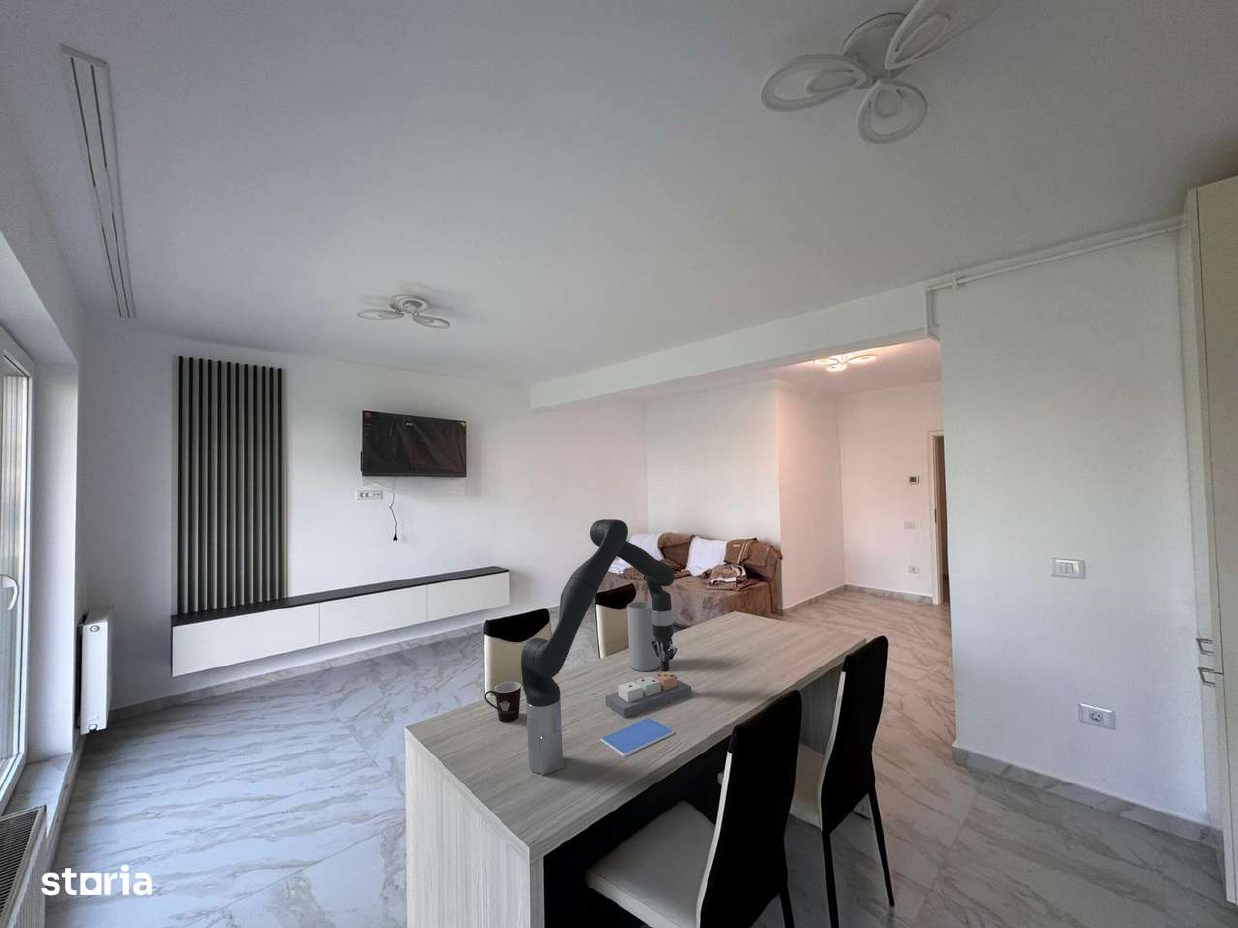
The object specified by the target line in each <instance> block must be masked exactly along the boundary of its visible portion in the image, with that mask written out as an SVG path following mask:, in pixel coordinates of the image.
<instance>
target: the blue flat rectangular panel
mask: <svg viewBox="0 0 1238 928" xmlns="http://www.w3.org/2000/svg"><path fill="white" fill-rule="evenodd" d="M674 734H675V731H674V730H673V729H671V728H670V727H668V726H666V725H663V724H662V723H660V722H658V721H657V720H654V719H653V718H651V717H645V718H644V719H642V720H639V721H637V722H635V723H633V724H630V725H627V726H626V727H623V728H621V729H619V730H616V731H614V732H611V733H608V734H606V735H604V736H602V737H600V739H599V741H600V742H602V743H603V745H604V744H605V745H606V746H608V748H610V749H612V750H613V751H614V752H616V753H617V754H618V755H620V756H621V757H623V758H625V757H626V758H627V757H629V756H631V755H633V754H635V753H637V752H639V751H640V750H643V749H645V748H646V747H649V746H651V745H654V744H655V743H657V742H659V741H662V740H663V739H666V738H668V737H670V736H673V735H674Z"/></svg>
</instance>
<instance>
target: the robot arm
mask: <svg viewBox="0 0 1238 928" xmlns="http://www.w3.org/2000/svg"><path fill="white" fill-rule="evenodd" d="M628 534H629V527H628V525H627V523H626V522H625V521H623V520H621V519H617V518H616V519H614V518H613V519H608V518H607V519H606V518H605V519H598V520H596V521H595V522H593V523H592V524H591V526H590V529H589V537H590V539H591V542H592V543H593V544H594V546H597V547H598V548H597V550H596V551H595V553H593V555H592V556H590V558H588V559H587V560H586V561H585V562H584V563H582V564H581V565H580V566H579V567H577V569H576V570H574V571H573V573H572V574H571V575H570V577H569V579H568V581H567V582H566V584H565V586H564V587H563V590H562V591H561V594H560V598H559V599H560V600H559V601H560V602H559V603H560V604H559V618H558V622H557V624H556V626H555V628H554V631H553V632H552V634H551V636H550V637H549V639H545V638H543V637H542V638H541V637H533V638H531V639H529V640H528V641H527V642H526V643H525V644H524V646H523V648H522V651H521V656H520V657H521V658H520V667H521V668H520V669H521V680H522V689H523V693H524V694H525V699H526V722H527V723H526V724H527V725H526V727H527V750H528V768H529V770H530V771H532V772H534V773H536V774H540V775H541V776H544V775H547V774H550V773H552V772H555V771H558V770H560V769H563V768H564V753H563V752H564V749H563V730H562V729H563V727H562V703H561V702H562V701H561V688H560V686H559V685H558V683H557V682H556V681H555V680H554V677H555V676H557V675H558V674H559V673H560V671H561V670H562V669H563V666H564V665H565V663H566V660H567V659H568V658H567V657H568V655H569V653H570V650H571V648H572V645H573V642H574V640H575V637H576V635H577V632H578V631H579V629H580V627H581V624H582V622H583V620H584V617H585V616H586V614H587V612H588V610H589V608H590V607H591V604H592V603H593V601H594V599H595V597H596V595H597V593H598V591H599V589H600V587H601V585H602V582H603V581H604V579H605V577H606V575H607V573H608V571H609V569H610V568H611V566H612V564H613V563H614V562H615V560H616V558H617V557H618V558H619V559H621V560H622V561H624V562H625V563H627V564H628V565H630V566H631V567H632V568H634V569H635V570H637V572H638V573H639V574H641V575H643V576H645V581H646V584H647V585H646V586H647V588H648V592H649V595H650V597H651V602H652V628H653V636H655V640H654V641H651V644H652V646H653V648H654V651H655V653H656V655H657V657H659V658H660V666H661V667H660V668H661V671H662V672H667V671H668V672H670V661H672V660H673V659H674V657H675V655H676V654H677V652H678V648H677V647H675V646H674V645H673V639H672V638H673V636H674V633H675V631H674V630H675V629H674V617H673V616H674V615H673V614H674V613H673V610H672V608H673V607H672V596H671V595H672V594H671V593H669V592H668V591H666V590H664V589H663V587H670V586H671V585H673V584H674V582H675V580H676V574H675V572H674V569H672V567H671V566H670V565H668V564H666V563H665V562H663V561H660V560H658V559H656V558H655V557H653V555H651V554H650V553H649V552H647V551H646V550H645V549H643V548H641V547H640V546H638V545H636V544H633V543H630V542H629V541H627V539H628Z"/></svg>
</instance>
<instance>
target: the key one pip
mask: <svg viewBox="0 0 1238 928" xmlns="http://www.w3.org/2000/svg"><path fill="white" fill-rule="evenodd" d="M617 687H618V688H617V689H618V694H619V697H620V698H622V699H624V700H625V701H627V702H631V701H634V700H637V699H640V698H643V688H642V686H640V685H638V684H636V682H635V681H630V682H627V683H623V684H620V685H618V686H617Z"/></svg>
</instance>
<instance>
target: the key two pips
mask: <svg viewBox="0 0 1238 928" xmlns="http://www.w3.org/2000/svg"><path fill="white" fill-rule="evenodd" d="M635 683H636V684H638V685H640V686H642V688H643V695H645V696H649V695H652V694H656V693H659V692H661V685H660V681H658V680H657V679H655V678H654V676H650V675H649V676H646V677H644V678H640V679H637V680H636V682H635Z"/></svg>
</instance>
